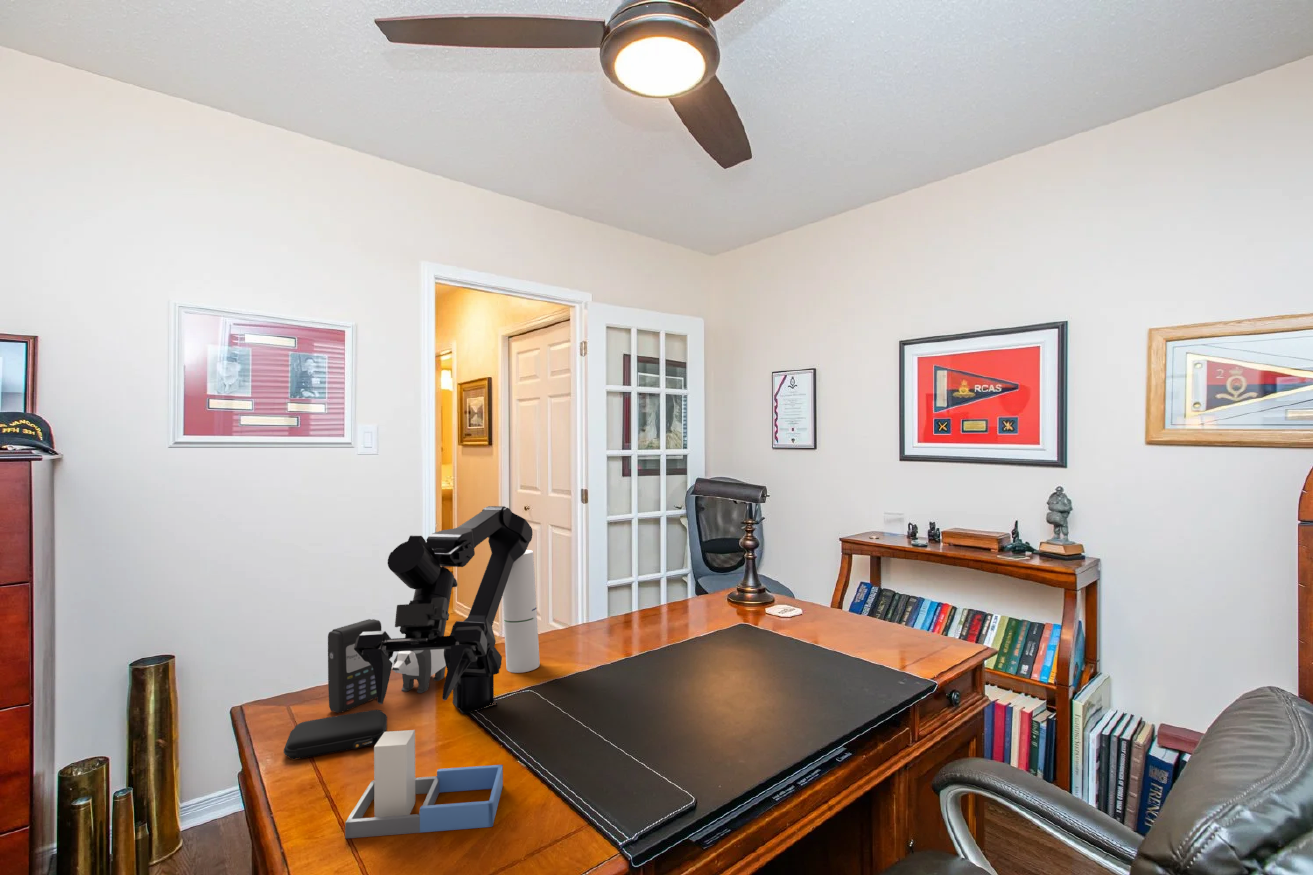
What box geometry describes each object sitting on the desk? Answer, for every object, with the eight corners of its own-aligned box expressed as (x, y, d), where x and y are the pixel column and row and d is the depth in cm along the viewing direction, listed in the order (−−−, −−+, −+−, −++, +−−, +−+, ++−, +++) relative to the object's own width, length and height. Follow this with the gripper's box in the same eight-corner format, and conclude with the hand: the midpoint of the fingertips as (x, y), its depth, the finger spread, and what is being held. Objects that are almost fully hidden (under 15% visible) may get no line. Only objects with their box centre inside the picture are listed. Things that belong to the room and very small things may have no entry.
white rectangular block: (385, 804, 81) (384, 731, 81) (415, 802, 82) (414, 729, 82) (374, 823, 77) (374, 746, 77) (406, 821, 78) (406, 744, 78)
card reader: (338, 716, 108) (338, 633, 108) (325, 711, 110) (325, 630, 110) (383, 697, 116) (383, 620, 116) (370, 693, 118) (370, 617, 118)
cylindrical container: (545, 661, 133) (539, 549, 133) (529, 673, 126) (522, 555, 126) (517, 659, 135) (511, 549, 135) (500, 671, 128) (493, 555, 129)
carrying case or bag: (279, 770, 91) (385, 749, 96) (279, 750, 91) (385, 731, 97) (292, 738, 101) (387, 721, 106) (291, 720, 101) (387, 704, 106)
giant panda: (426, 672, 128) (426, 628, 128) (450, 674, 126) (449, 629, 127) (382, 702, 113) (381, 652, 113) (408, 704, 112) (407, 654, 112)
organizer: (345, 838, 74) (345, 814, 74) (371, 794, 83) (371, 773, 83) (492, 826, 76) (492, 803, 76) (502, 785, 86) (502, 764, 86)
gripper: (355, 581, 91) (325, 686, 80) (480, 575, 92) (465, 678, 82) (378, 612, 99) (353, 711, 89) (492, 607, 100) (480, 704, 90)
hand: (412, 701), depth 87 cm, fingers open, 9 cm apart
